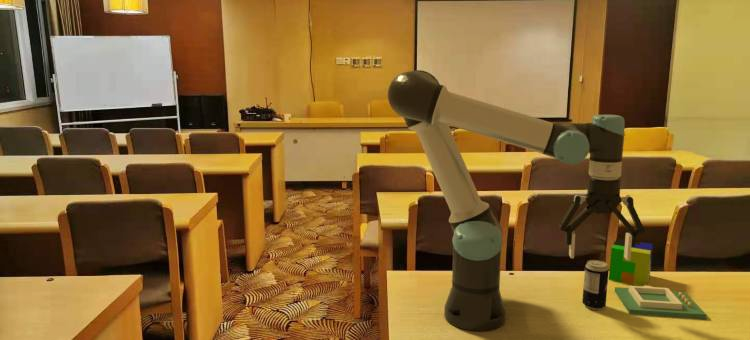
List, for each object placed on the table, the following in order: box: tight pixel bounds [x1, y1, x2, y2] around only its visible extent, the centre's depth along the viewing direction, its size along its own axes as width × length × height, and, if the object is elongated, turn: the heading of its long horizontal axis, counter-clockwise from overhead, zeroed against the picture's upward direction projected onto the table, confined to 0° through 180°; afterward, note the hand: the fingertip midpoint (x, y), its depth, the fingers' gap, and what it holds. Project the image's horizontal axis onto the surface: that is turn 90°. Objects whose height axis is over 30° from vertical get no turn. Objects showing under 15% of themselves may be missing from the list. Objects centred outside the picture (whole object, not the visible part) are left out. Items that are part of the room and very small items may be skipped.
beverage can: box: [582, 259, 610, 311], centre depth 139 cm, size 6×6×12 cm
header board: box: [614, 285, 708, 320], centre depth 141 cm, size 18×14×3 cm
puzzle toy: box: [608, 238, 654, 287], centre depth 158 cm, size 10×10×10 cm
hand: (598, 257), depth 138 cm, fingers open, 13 cm apart
